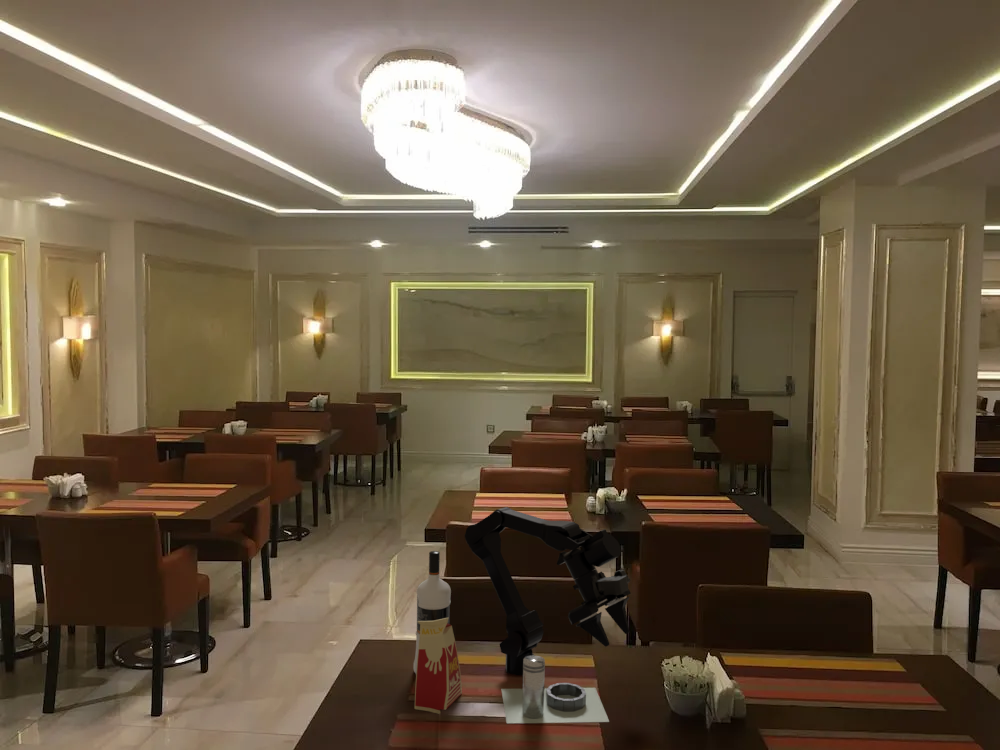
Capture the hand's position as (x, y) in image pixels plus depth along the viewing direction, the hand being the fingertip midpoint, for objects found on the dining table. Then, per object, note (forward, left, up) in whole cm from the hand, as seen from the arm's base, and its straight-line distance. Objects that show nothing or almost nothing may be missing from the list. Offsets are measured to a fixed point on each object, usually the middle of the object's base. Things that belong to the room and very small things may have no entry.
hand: (617, 639), depth 179 cm
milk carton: (-40, +4, -16) cm, 43 cm away
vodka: (-41, +20, -16) cm, 48 cm away
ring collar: (-11, +1, -15) cm, 18 cm away
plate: (-14, 0, -16) cm, 21 cm away
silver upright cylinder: (-19, -4, -15) cm, 25 cm away
